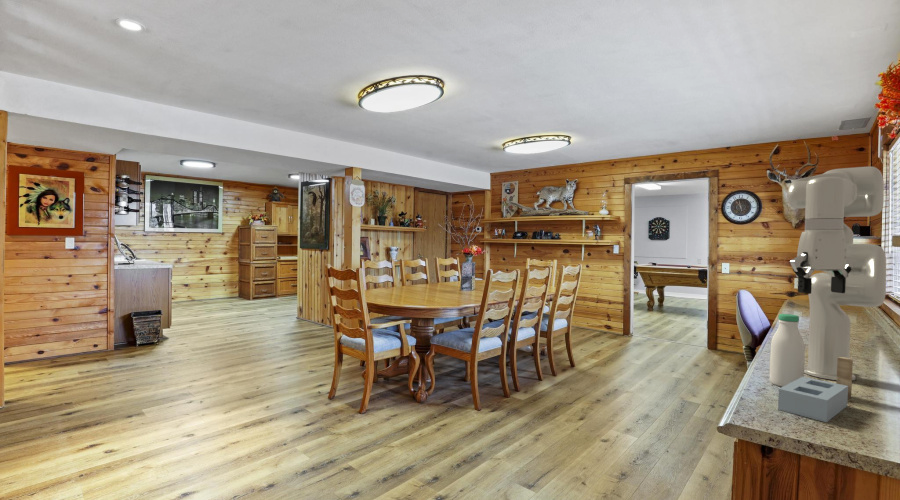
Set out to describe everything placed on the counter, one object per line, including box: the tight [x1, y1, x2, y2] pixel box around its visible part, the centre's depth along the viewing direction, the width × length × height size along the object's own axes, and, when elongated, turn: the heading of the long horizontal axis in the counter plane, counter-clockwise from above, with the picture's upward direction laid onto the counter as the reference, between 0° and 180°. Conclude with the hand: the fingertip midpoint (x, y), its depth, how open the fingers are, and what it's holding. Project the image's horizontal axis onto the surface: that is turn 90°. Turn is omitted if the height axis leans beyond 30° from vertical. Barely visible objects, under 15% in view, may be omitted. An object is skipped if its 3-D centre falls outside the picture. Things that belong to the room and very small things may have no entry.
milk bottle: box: [769, 313, 806, 388], centre depth 124 cm, size 8×8×20 cm
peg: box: [836, 357, 854, 399], centre depth 116 cm, size 3×3×10 cm
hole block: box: [777, 376, 849, 423], centre depth 107 cm, size 18×9×5 cm, turn 127°
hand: (821, 292), depth 112 cm, fingers open, 9 cm apart
